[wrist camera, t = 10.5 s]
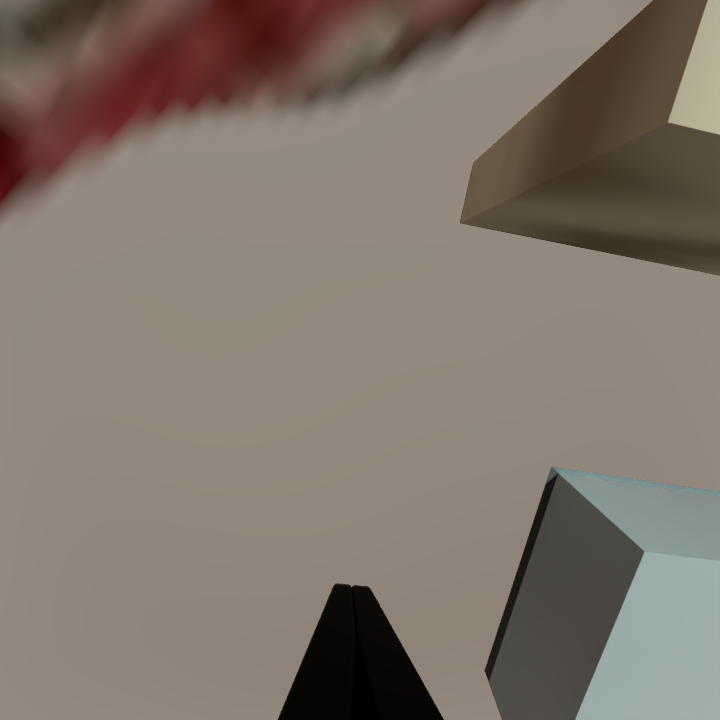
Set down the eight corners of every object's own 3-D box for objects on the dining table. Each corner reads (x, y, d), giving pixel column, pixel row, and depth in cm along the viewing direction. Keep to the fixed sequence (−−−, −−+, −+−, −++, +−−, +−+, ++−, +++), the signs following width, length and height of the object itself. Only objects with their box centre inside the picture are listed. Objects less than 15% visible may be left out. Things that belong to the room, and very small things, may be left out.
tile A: (484, 670, 11) (536, 813, 8) (551, 466, 9) (645, 551, 6) (690, 689, 11) (808, 829, 9) (783, 501, 10) (965, 592, 7)
